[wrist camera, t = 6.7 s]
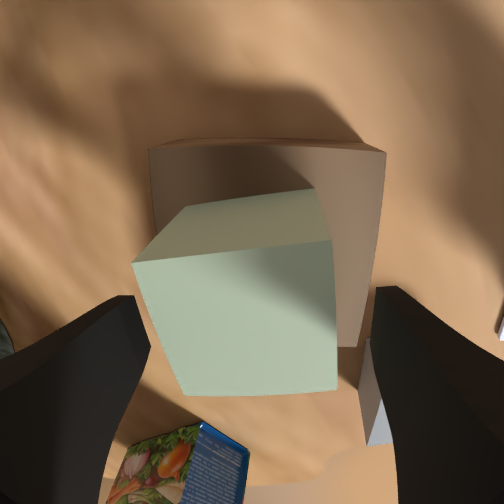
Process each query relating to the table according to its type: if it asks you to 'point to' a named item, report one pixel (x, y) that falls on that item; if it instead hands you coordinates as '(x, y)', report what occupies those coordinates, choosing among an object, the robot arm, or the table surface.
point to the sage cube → (245, 296)
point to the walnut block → (283, 180)
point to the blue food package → (183, 469)
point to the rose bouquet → (5, 343)
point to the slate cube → (372, 404)
